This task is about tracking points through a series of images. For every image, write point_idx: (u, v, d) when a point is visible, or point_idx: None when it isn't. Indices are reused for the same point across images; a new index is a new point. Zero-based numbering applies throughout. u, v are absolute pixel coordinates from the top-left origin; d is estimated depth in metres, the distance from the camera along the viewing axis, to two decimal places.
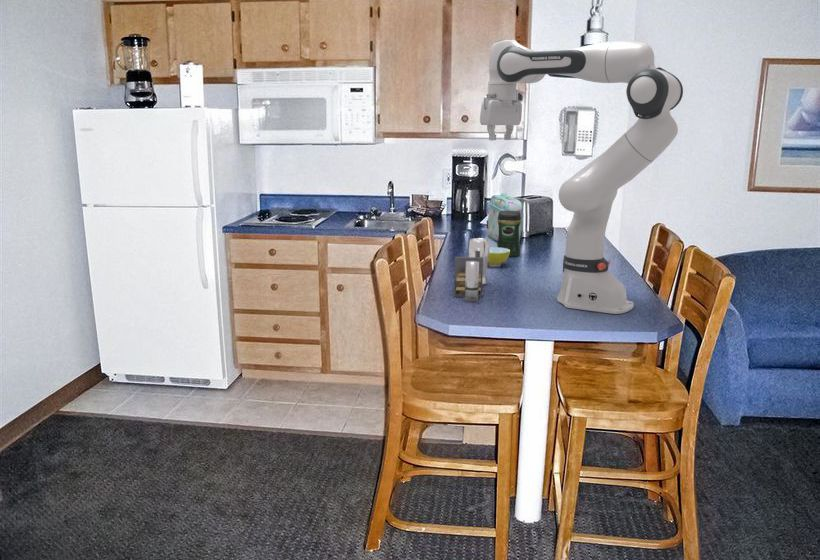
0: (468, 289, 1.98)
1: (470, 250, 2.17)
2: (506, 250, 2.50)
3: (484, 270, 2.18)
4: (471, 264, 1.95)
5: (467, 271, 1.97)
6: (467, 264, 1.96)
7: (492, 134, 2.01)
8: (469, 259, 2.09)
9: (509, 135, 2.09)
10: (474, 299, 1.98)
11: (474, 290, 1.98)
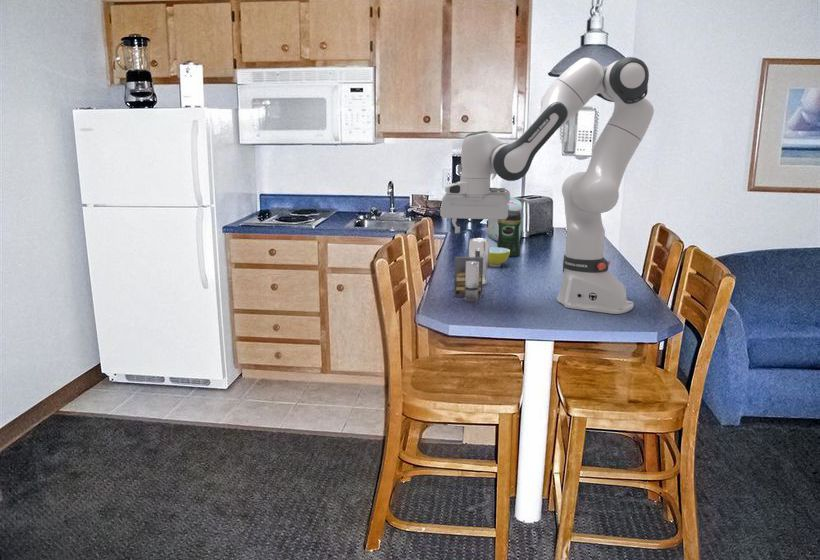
0: (468, 289, 1.98)
1: (470, 250, 2.17)
2: (506, 250, 2.50)
3: (484, 270, 2.18)
4: (471, 264, 1.95)
5: (467, 271, 1.97)
6: (467, 264, 1.96)
7: None
8: (469, 259, 2.09)
9: None
10: (474, 299, 1.98)
11: (474, 290, 1.98)
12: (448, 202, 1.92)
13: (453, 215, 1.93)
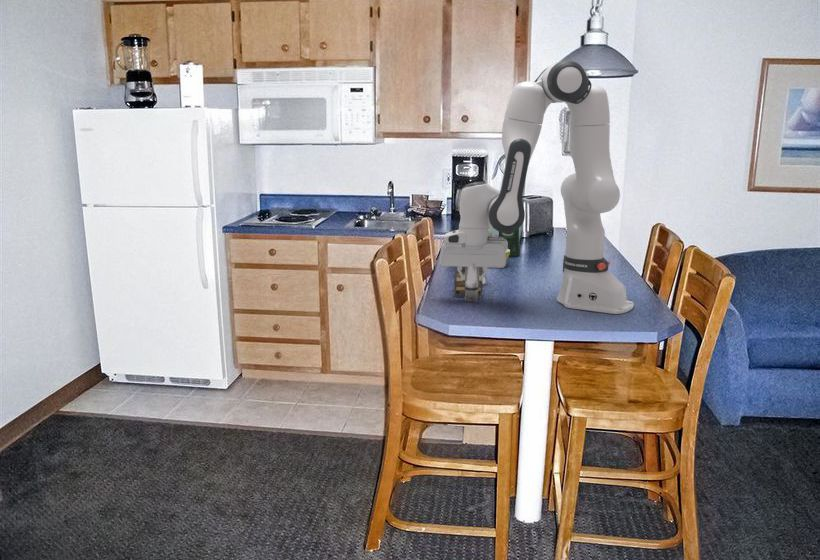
0: (468, 289, 1.98)
1: None
2: (506, 250, 2.50)
3: None
4: (471, 264, 1.95)
5: (467, 271, 1.97)
6: None
7: None
8: None
9: None
10: (474, 299, 1.98)
11: (474, 290, 1.98)
12: (447, 251, 1.95)
13: (452, 263, 1.96)
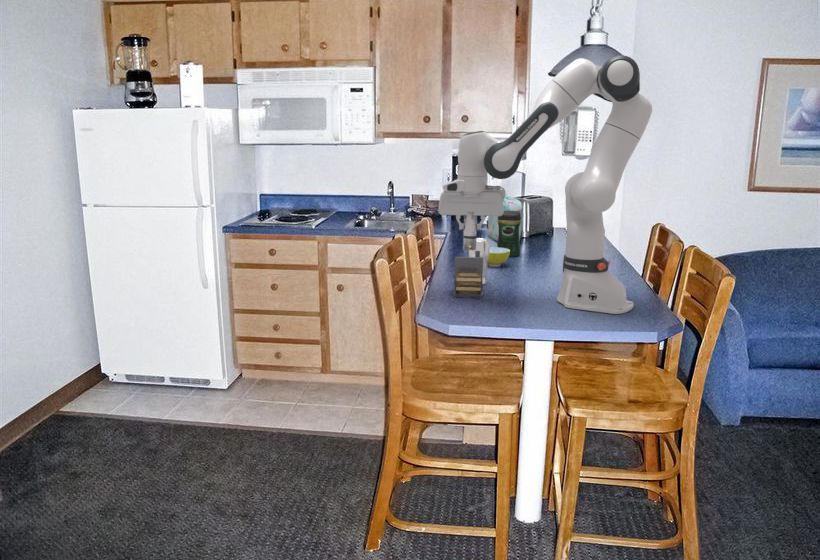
0: (466, 237, 2.02)
1: (470, 250, 2.17)
2: (506, 250, 2.50)
3: (484, 270, 2.18)
4: (469, 212, 1.99)
5: (465, 220, 2.01)
6: None
7: None
8: (469, 259, 2.09)
9: None
10: (472, 247, 2.02)
11: (473, 238, 2.02)
12: (446, 199, 1.99)
13: (451, 212, 2.00)
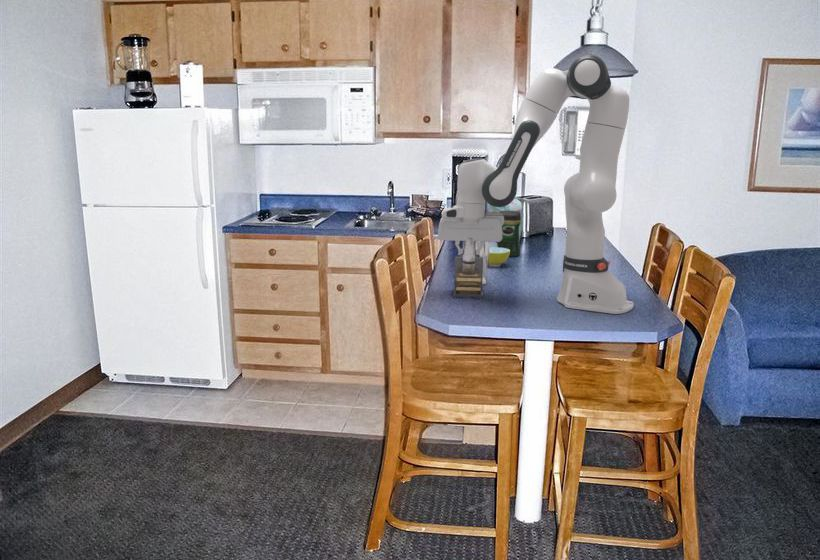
0: (465, 263, 2.04)
1: None
2: (506, 250, 2.50)
3: (484, 270, 2.18)
4: (468, 238, 2.01)
5: (464, 245, 2.03)
6: None
7: None
8: None
9: None
10: (471, 273, 2.04)
11: (472, 263, 2.04)
12: (445, 225, 2.01)
13: (450, 238, 2.02)
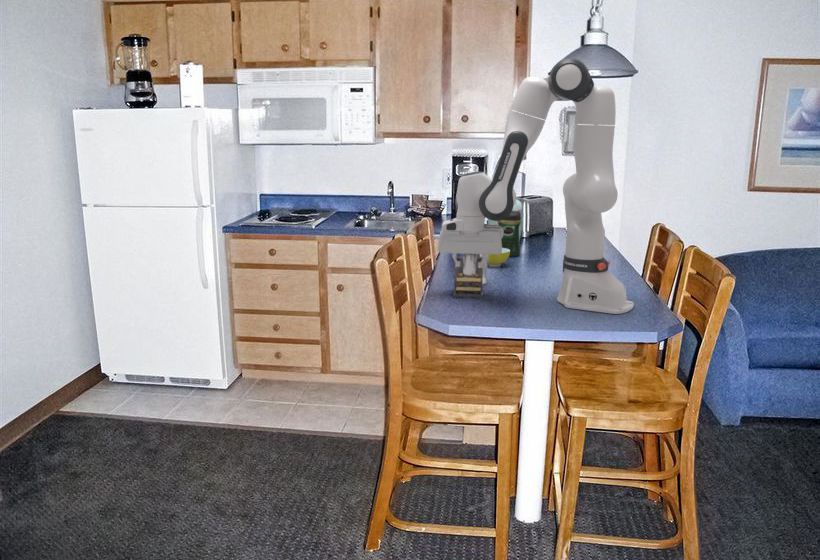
0: None
1: None
2: (506, 250, 2.50)
3: (484, 270, 2.18)
4: (469, 255, 2.03)
5: (465, 262, 2.04)
6: (465, 255, 2.04)
7: None
8: None
9: None
10: None
11: None
12: (445, 238, 2.02)
13: (450, 250, 2.03)
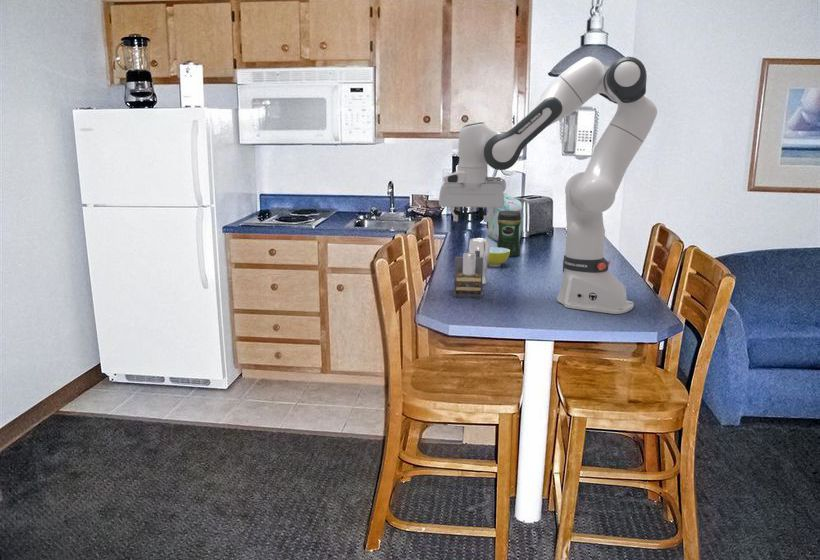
0: None
1: (470, 250, 2.17)
2: (506, 250, 2.50)
3: (484, 270, 2.18)
4: (468, 256, 2.03)
5: (464, 262, 2.04)
6: (464, 256, 2.03)
7: (488, 215, 2.02)
8: None
9: None
10: None
11: None
12: (447, 191, 1.99)
13: (451, 204, 2.00)
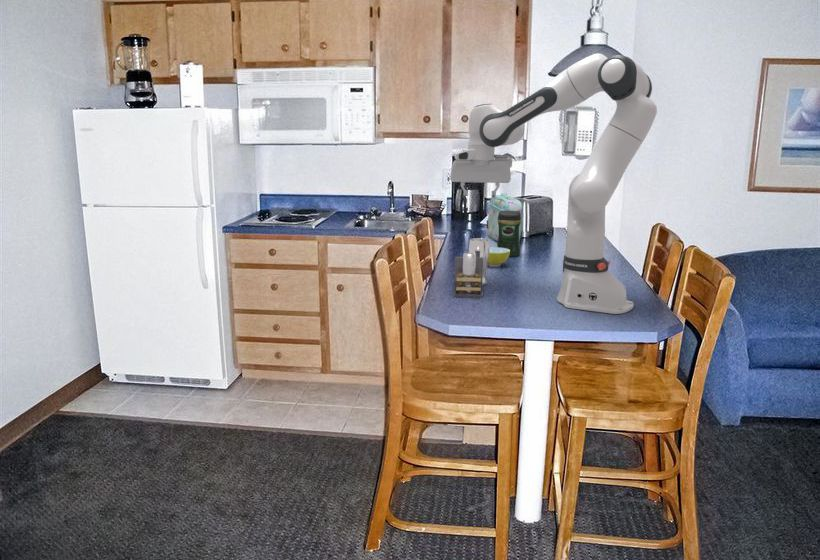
0: None
1: (470, 250, 2.17)
2: (506, 250, 2.50)
3: (484, 270, 2.18)
4: (468, 256, 2.03)
5: (464, 262, 2.04)
6: (464, 256, 2.03)
7: None
8: None
9: None
10: None
11: None
12: (457, 167, 2.16)
13: (462, 179, 2.17)
